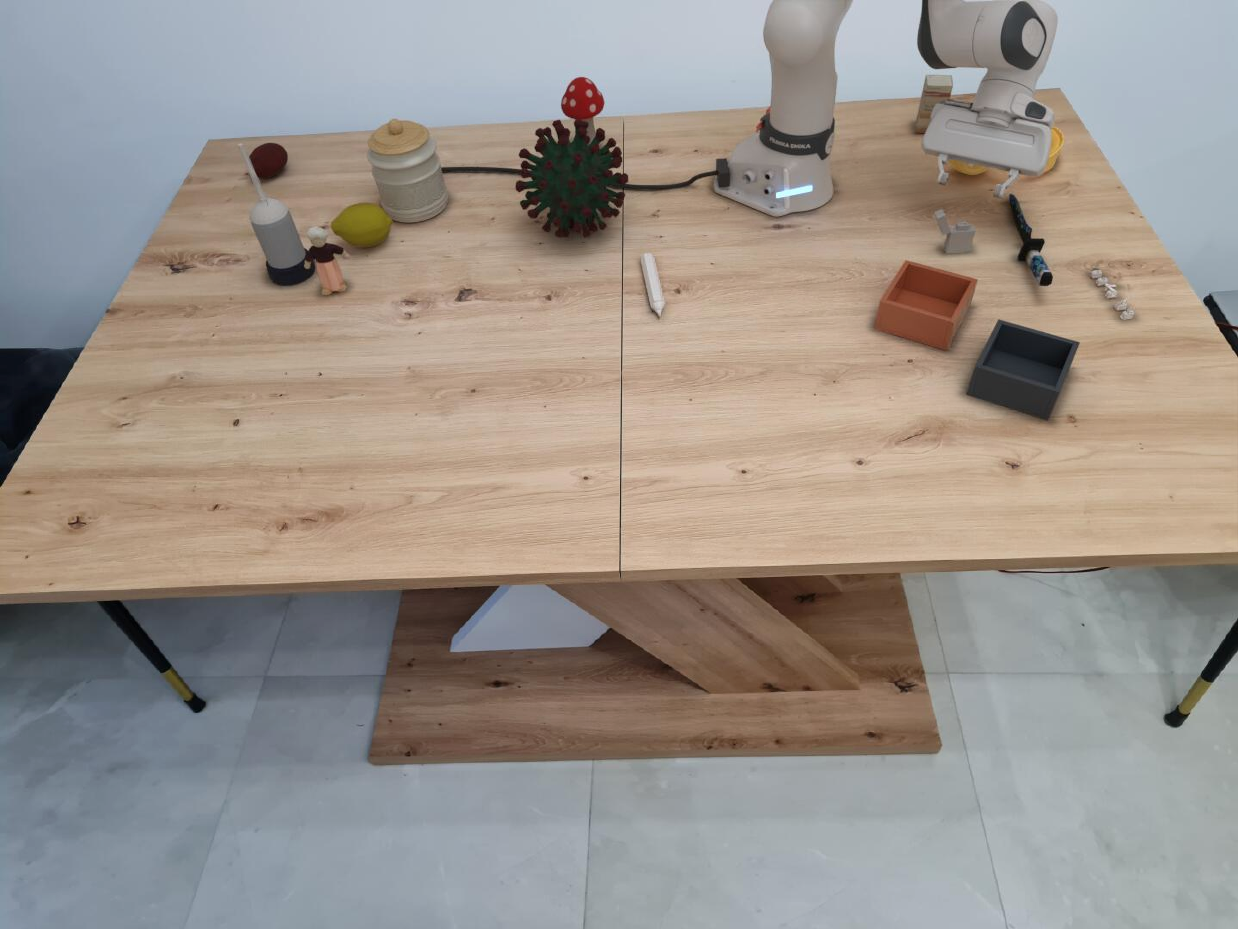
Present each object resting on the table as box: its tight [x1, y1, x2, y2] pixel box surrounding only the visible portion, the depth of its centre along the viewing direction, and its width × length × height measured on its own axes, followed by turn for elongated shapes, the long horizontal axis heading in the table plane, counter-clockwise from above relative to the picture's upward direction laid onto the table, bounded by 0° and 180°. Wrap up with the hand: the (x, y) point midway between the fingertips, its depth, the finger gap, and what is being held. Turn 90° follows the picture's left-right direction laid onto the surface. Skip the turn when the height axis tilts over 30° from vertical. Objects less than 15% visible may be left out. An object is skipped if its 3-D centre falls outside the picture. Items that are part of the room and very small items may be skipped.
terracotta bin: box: [874, 259, 979, 351], centre depth 142 cm, size 12×12×6 cm
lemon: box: [330, 202, 394, 248], centre depth 165 cm, size 11×8×8 cm
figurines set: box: [1089, 269, 1136, 321], centre depth 143 cm, size 12×3×3 cm, turn 6°
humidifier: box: [237, 142, 316, 287], centre depth 155 cm, size 8×8×25 cm
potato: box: [248, 142, 289, 179], centre depth 185 cm, size 8×9×6 cm
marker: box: [640, 252, 666, 317], centre depth 152 cm, size 3×2×16 cm
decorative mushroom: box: [560, 76, 605, 148], centre depth 179 cm, size 10×9×15 cm
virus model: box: [515, 119, 629, 239], centre depth 159 cm, size 20×20×20 cm
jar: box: [366, 118, 449, 223], centre depth 169 cm, size 13×13×18 cm
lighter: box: [934, 209, 977, 255], centre depth 152 cm, size 7×2×8 cm, turn 92°
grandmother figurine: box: [304, 225, 350, 296], centre depth 155 cm, size 8×4×13 cm, turn 118°
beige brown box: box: [915, 74, 954, 134], centre depth 178 cm, size 5×4×10 cm
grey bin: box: [966, 319, 1081, 421], centre depth 131 cm, size 12×12×6 cm
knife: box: [1008, 193, 1054, 287], centre depth 152 cm, size 31×3×4 cm, turn 170°
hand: (969, 190), depth 151 cm, fingers open, 8 cm apart
